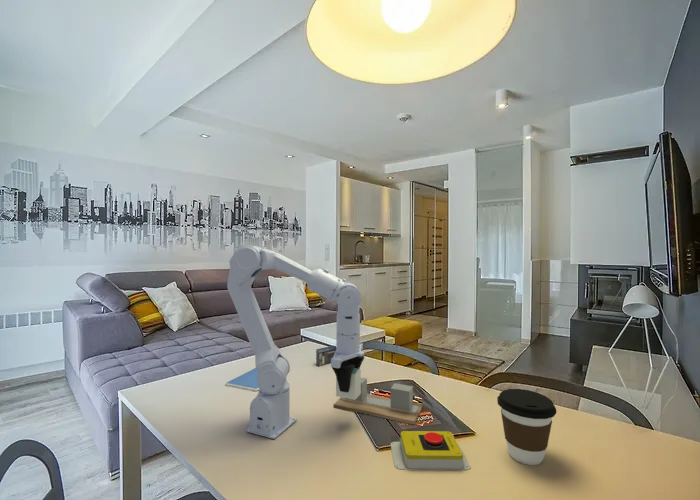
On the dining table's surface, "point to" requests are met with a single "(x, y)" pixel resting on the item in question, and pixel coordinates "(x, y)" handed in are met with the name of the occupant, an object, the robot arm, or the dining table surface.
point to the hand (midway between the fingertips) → (347, 388)
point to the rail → (381, 404)
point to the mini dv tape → (325, 355)
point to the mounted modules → (393, 395)
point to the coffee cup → (526, 424)
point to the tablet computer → (246, 381)
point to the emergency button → (428, 451)
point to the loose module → (351, 386)
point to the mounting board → (379, 410)
